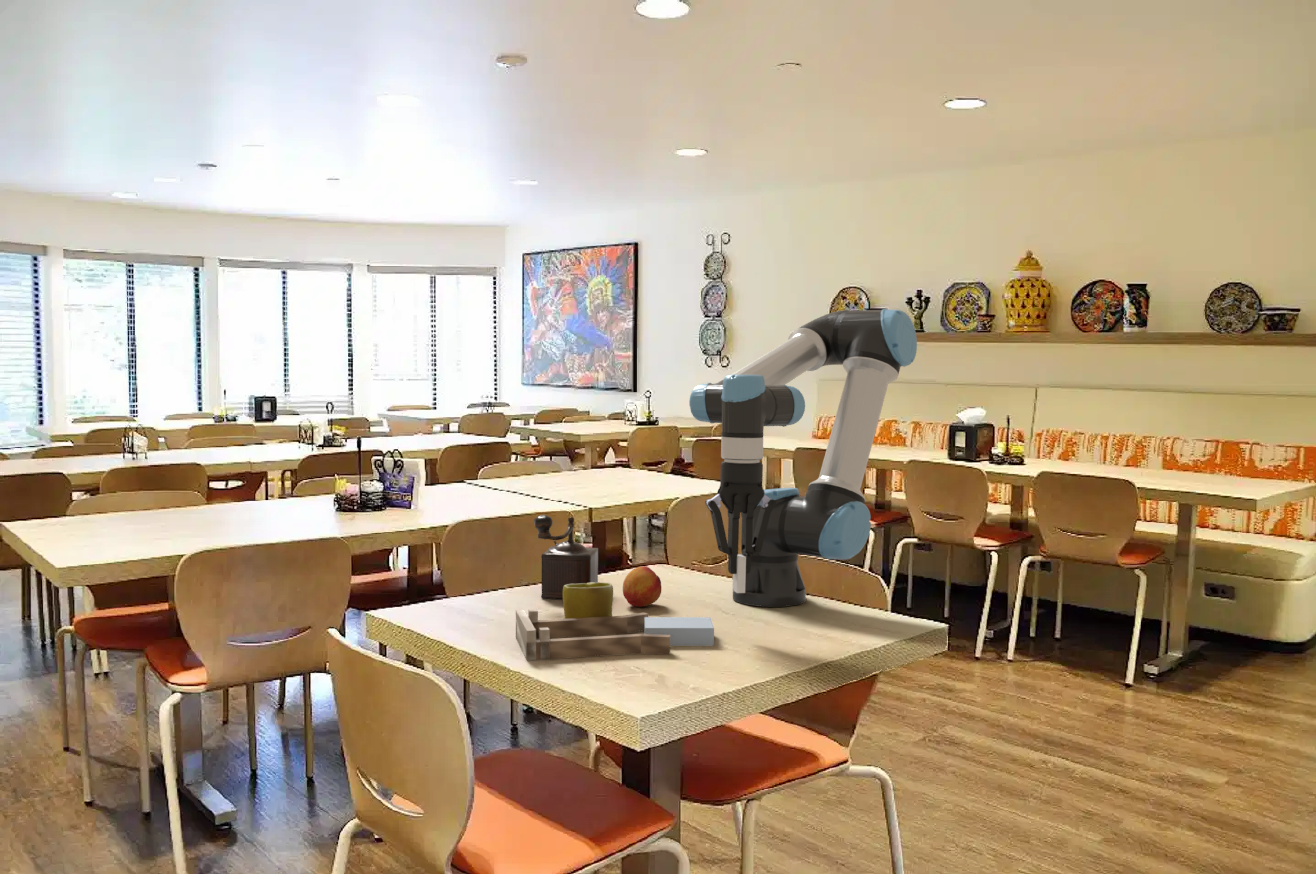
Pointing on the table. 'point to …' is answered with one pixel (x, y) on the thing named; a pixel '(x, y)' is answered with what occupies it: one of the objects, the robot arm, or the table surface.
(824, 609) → the table surface
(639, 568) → the fruit
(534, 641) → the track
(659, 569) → the table surface
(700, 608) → the table surface
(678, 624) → the pale blue block
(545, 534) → the manual coffee grinder
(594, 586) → the mug
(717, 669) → the table surface
